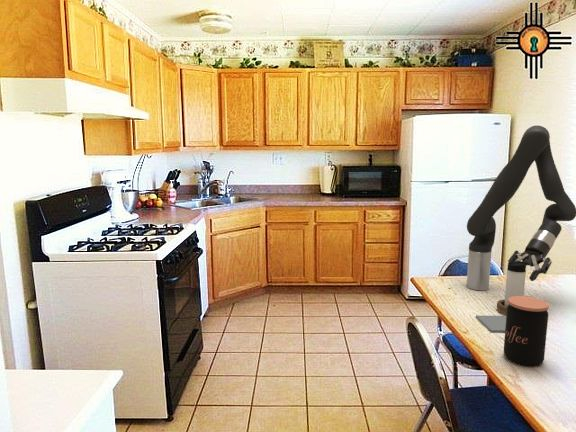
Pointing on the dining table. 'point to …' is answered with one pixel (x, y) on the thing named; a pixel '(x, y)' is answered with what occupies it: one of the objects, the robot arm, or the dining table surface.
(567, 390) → the dining table surface
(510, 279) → the travel mug
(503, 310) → the ring
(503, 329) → the slate mat
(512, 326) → the coffee jar
